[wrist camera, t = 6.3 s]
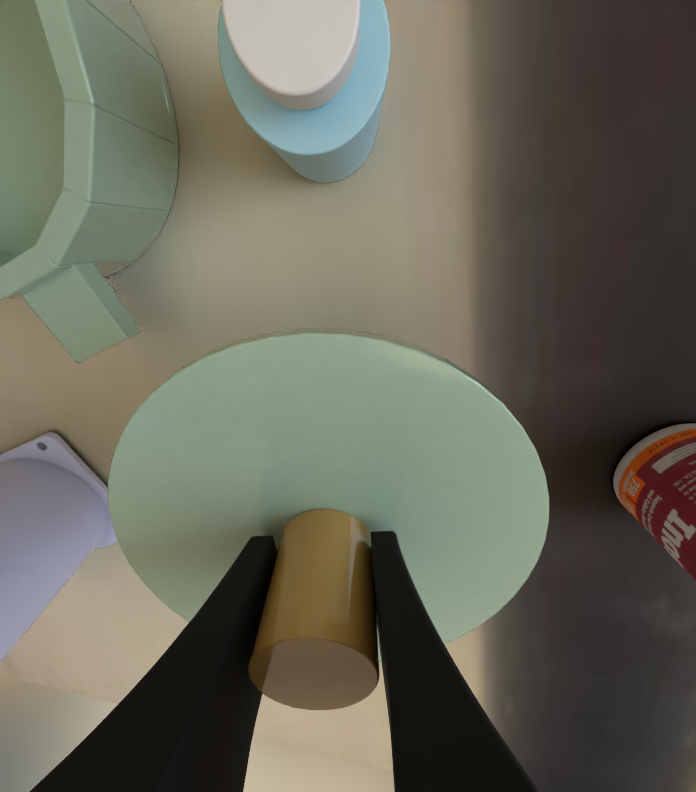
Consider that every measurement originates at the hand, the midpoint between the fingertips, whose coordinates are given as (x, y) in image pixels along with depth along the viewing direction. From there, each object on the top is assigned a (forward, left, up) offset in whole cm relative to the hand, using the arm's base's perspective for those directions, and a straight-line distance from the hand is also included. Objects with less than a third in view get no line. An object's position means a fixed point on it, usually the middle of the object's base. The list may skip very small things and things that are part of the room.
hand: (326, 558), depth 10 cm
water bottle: (+5, +11, -9) cm, 15 cm away
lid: (0, 0, -1) cm, 1 cm away
